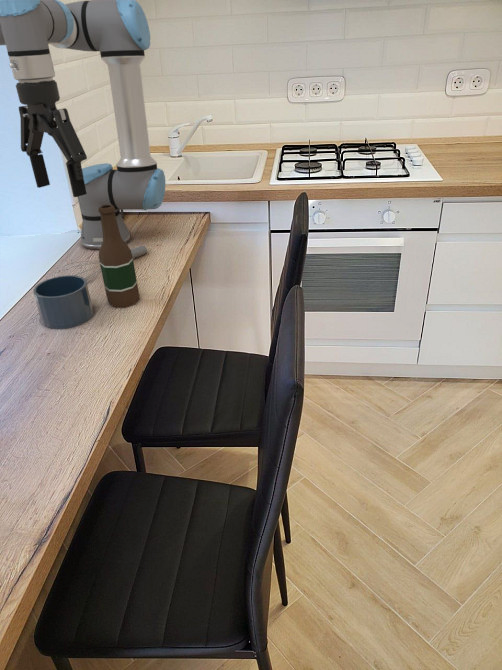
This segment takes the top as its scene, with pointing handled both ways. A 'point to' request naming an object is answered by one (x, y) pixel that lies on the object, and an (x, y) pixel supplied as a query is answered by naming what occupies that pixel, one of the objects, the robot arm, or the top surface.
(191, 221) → the top surface
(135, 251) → the kitchen whisk
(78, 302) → the metal cup
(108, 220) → the beer bottle
